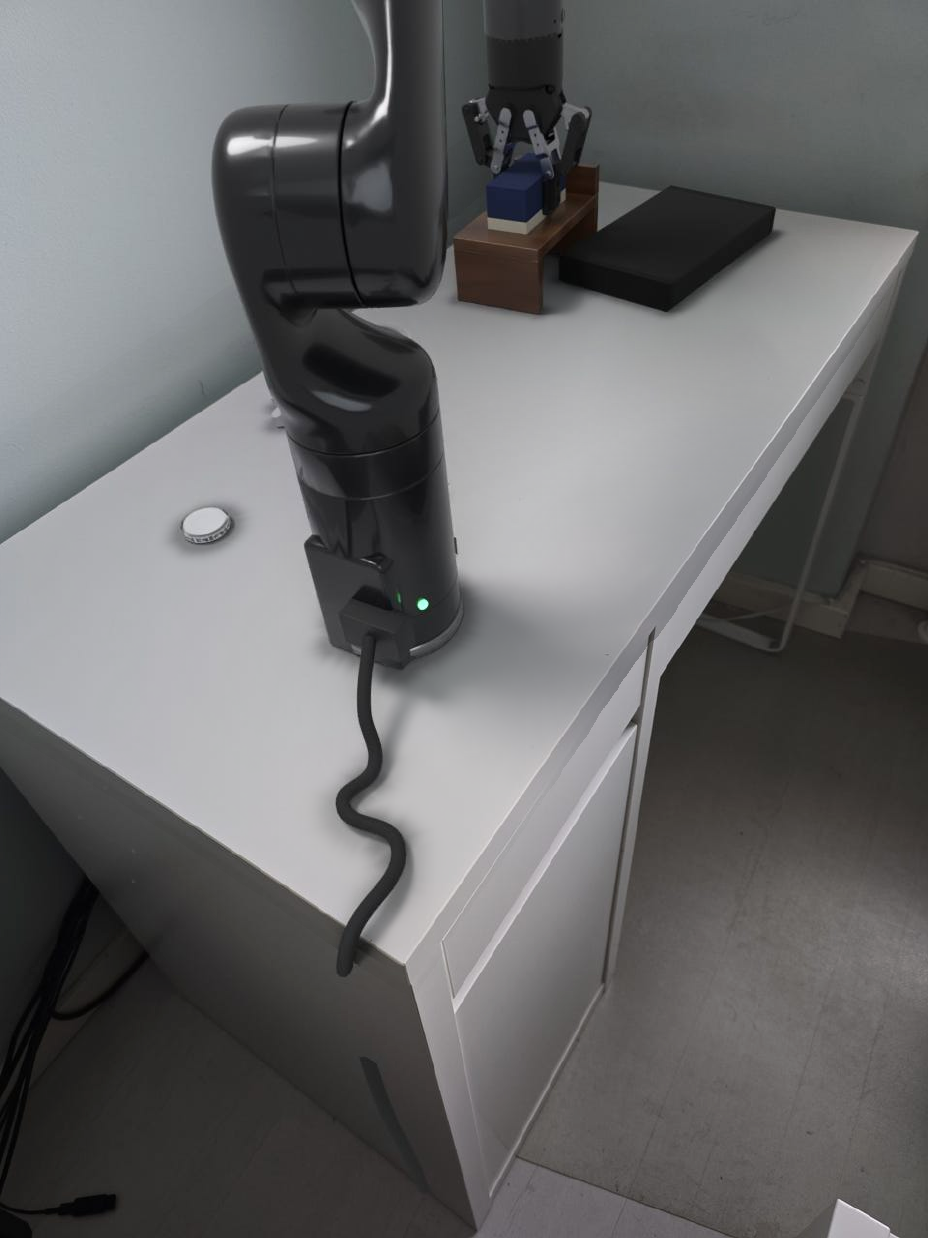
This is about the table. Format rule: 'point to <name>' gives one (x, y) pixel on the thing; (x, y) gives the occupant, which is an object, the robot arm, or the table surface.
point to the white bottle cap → (205, 524)
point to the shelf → (524, 248)
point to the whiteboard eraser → (518, 196)
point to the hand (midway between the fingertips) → (527, 208)
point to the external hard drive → (666, 246)
